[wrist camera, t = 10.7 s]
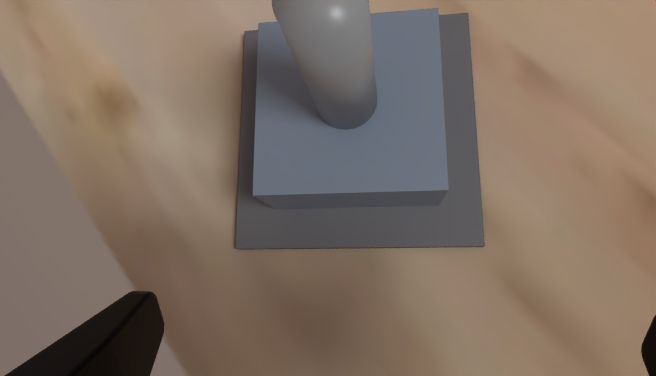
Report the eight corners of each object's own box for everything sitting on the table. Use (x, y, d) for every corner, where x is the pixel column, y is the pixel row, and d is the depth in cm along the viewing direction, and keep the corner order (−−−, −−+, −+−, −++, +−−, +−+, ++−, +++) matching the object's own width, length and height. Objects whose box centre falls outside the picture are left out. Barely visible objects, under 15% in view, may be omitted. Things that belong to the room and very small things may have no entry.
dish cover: (438, 205, 21) (485, 130, 10) (275, 209, 22) (167, 145, 12) (430, 51, 23) (464, -149, 12) (279, 62, 24) (187, -113, 13)
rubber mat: (482, 246, 21) (484, 246, 20) (238, 249, 23) (235, 248, 22) (466, 18, 23) (467, 12, 23) (247, 35, 25) (244, 31, 25)
